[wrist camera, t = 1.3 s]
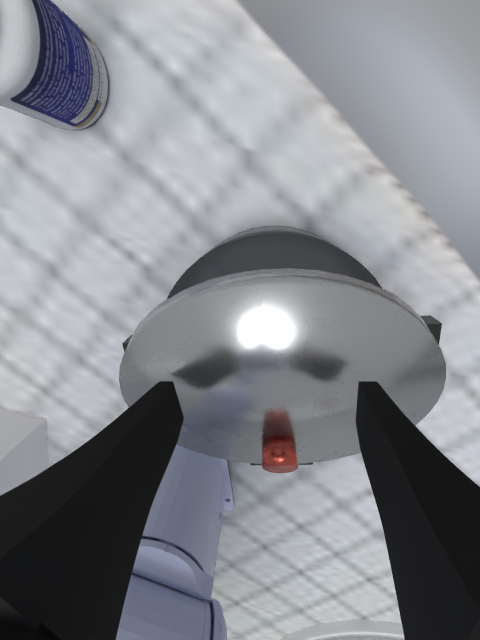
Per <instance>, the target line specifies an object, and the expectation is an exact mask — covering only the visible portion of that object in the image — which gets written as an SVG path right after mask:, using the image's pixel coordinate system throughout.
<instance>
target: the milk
mask: <svg viewBox="0 0 480 640" xmlns="http://www.w3.org/2000/svg"><path fill="white" fill-rule="evenodd" d="M48 468H49V463H48V445H47V427H46V418H43V417H39V416H34V415H30V414H26V413H21V412H17V411H13V410H8V409H4V408H0V496H1V495H2V494H4V493H6V492H8V491H10V490H12V489H14V488H15V487H17V486H19V485H21V484H22V483H24V482H26V481H28V480H30V479H31V478H33V477H35V476H36V475H38V474H40V473H41V472H43V471H44V470H46V469H48Z"/></svg>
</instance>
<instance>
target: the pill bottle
mask: <svg viewBox="0 0 480 640" xmlns="http://www.w3.org/2000/svg"><path fill="white" fill-rule="evenodd" d="M107 94H108V78H107V72H106V68H105V64H104V61H103V59H102V56H101V54H100V52H99V50H98V49H97V47H96V45H95V44H94V42H93V41H92V40H91V38H90V37H89V36H88V35H87V34H86V33H85V32H84V31H83V30H82V29H81V28H80V27H79V26H78V25H77V24H76V23H74V22H73V21H72V20H71V19H70V18H69V17H68V16H67V15H66V14H65V13H64V12H63V11H62V10H61V9H59V8H58V7H57V6H56V5H55V4H54V3H53V2H52V1H51V0H0V105H1V106H4V107H7V108H10V109H12V110H15V111H18V112H20V113H23V114H26V115H28V116H31V117H33V118H36V119H39V120H41V121H44V122H46V123H48V124H51V125H54V126H56V127H60V128H63V129H67V130H79V129H83V128H86V127H88V126H90V125H91V124H92V123H94V122H95V121H96V120H97V119H98V117H99V116H100V115H101V113H102V111H103V109H104V107H105V103H106V100H107Z"/></svg>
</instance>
